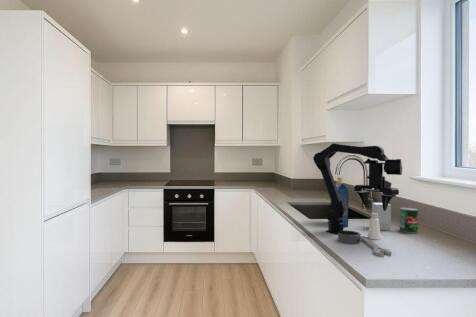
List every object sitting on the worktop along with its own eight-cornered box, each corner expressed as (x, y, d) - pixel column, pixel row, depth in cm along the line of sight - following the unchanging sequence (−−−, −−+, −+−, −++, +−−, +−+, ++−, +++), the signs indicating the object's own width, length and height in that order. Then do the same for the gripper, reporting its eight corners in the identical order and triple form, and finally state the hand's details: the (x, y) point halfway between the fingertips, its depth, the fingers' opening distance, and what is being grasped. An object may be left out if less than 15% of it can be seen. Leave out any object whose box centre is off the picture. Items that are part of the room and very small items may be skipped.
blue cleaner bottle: (336, 226, 160) (336, 178, 160) (331, 221, 172) (331, 176, 172) (348, 227, 160) (348, 178, 159) (342, 222, 172) (342, 176, 171)
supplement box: (391, 230, 152) (391, 204, 152) (375, 229, 154) (375, 204, 154) (387, 227, 160) (387, 202, 160) (371, 226, 161) (371, 202, 161)
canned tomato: (405, 228, 157) (405, 206, 157) (421, 231, 150) (421, 209, 150) (396, 230, 153) (396, 208, 153) (412, 233, 146) (412, 210, 146)
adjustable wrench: (358, 239, 138) (358, 235, 138) (373, 240, 137) (373, 236, 137) (376, 257, 113) (376, 252, 113) (394, 258, 112) (394, 253, 112)
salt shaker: (369, 235, 142) (370, 211, 142) (382, 237, 139) (382, 213, 139) (366, 238, 138) (366, 213, 138) (379, 240, 135) (379, 215, 135)
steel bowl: (333, 240, 135) (334, 232, 135) (347, 237, 139) (347, 229, 139) (350, 245, 127) (350, 236, 127) (364, 242, 132) (364, 233, 132)
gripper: (406, 174, 134) (406, 210, 134) (369, 172, 150) (369, 204, 151) (390, 175, 129) (390, 213, 129) (353, 173, 145) (353, 206, 145)
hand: (375, 209), depth 138 cm, fingers open, 9 cm apart
